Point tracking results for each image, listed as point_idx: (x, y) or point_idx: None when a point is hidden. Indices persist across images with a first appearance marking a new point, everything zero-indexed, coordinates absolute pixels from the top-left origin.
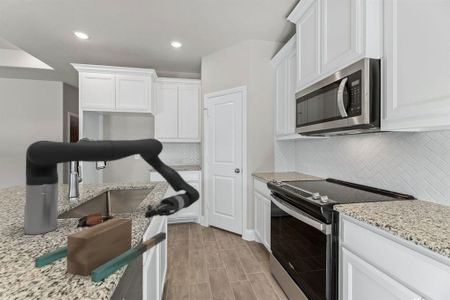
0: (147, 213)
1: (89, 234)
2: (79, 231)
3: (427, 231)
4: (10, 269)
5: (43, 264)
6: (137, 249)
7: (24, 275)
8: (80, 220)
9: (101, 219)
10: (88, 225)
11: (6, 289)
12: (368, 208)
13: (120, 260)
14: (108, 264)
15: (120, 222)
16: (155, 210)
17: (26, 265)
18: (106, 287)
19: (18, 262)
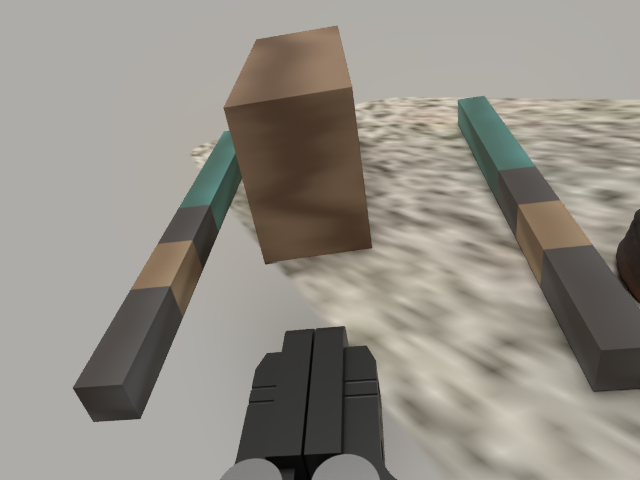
0: (306, 333)
1: (278, 41)
2: (339, 34)
3: None
4: (522, 102)
5: (459, 122)
6: (180, 208)
7: (445, 110)
8: None
9: None
10: None
11: (408, 98)
12: None
13: (204, 166)
14: (225, 148)
15: (256, 83)
16: (250, 468)
17: (513, 115)
18: (194, 155)
19: (563, 109)
